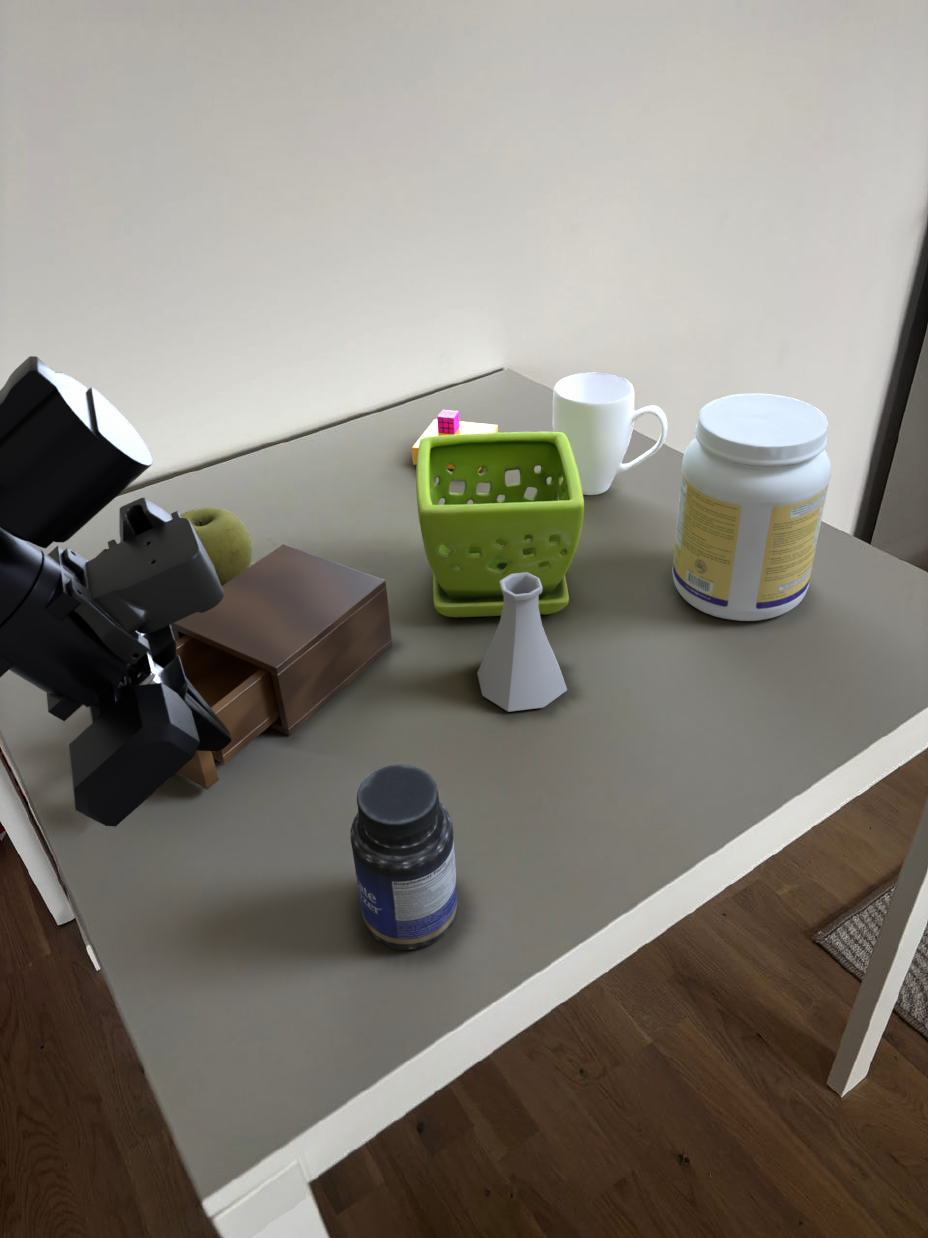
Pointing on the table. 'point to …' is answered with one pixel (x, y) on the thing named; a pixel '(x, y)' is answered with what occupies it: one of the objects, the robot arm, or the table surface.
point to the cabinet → (298, 627)
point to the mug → (600, 425)
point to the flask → (520, 651)
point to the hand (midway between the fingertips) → (225, 742)
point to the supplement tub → (751, 506)
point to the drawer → (226, 702)
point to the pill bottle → (404, 858)
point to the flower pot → (498, 518)
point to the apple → (222, 540)
